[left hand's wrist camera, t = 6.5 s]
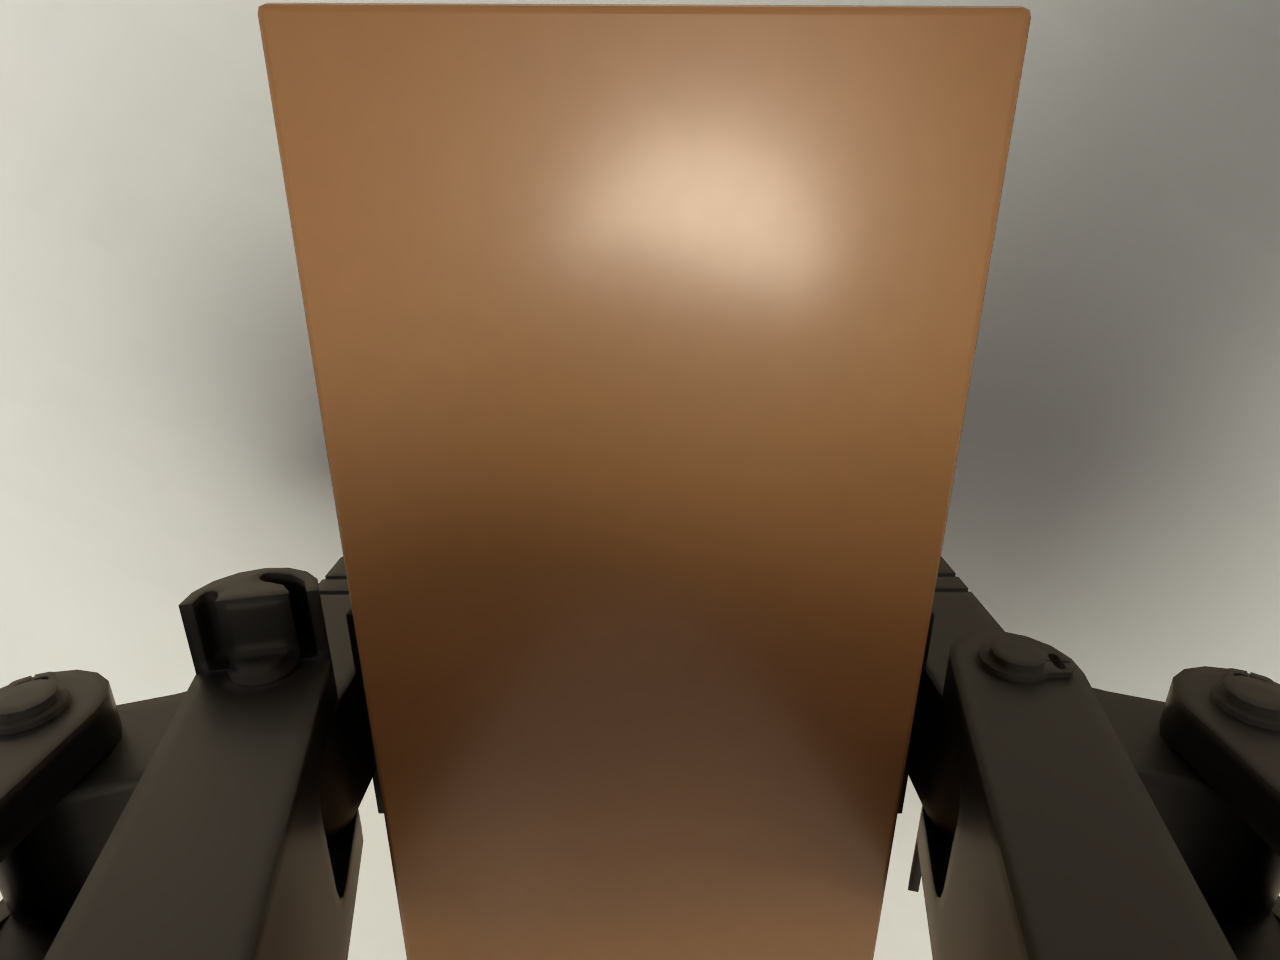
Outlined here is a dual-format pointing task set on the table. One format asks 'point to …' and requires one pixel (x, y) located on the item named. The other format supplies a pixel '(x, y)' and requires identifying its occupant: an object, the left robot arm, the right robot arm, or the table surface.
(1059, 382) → the table surface
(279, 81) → the bar
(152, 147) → the table surface
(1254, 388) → the table surface
